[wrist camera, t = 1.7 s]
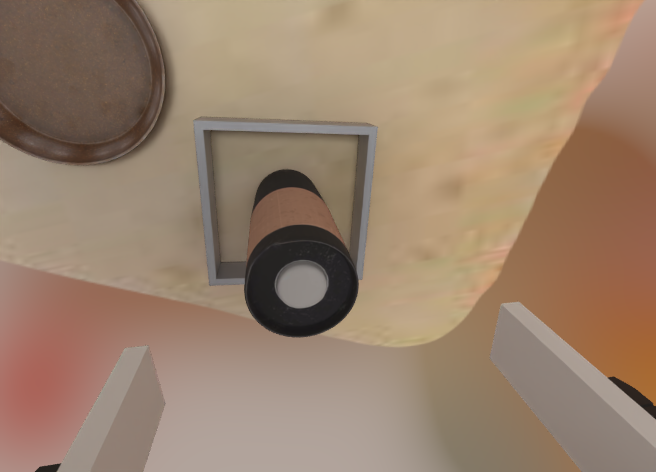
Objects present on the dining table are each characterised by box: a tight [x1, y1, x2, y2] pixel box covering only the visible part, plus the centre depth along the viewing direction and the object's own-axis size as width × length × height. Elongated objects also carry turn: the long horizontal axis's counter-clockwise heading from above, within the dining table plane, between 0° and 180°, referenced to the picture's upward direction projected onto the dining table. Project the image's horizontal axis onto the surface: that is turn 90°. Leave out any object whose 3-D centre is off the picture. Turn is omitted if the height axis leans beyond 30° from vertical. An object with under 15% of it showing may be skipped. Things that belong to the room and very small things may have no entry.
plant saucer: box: [0, 0, 165, 165], centre depth 31 cm, size 18×18×3 cm
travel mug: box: [244, 170, 359, 337], centre depth 31 cm, size 8×8×20 cm
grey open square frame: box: [193, 117, 378, 286], centre depth 39 cm, size 18×18×4 cm
